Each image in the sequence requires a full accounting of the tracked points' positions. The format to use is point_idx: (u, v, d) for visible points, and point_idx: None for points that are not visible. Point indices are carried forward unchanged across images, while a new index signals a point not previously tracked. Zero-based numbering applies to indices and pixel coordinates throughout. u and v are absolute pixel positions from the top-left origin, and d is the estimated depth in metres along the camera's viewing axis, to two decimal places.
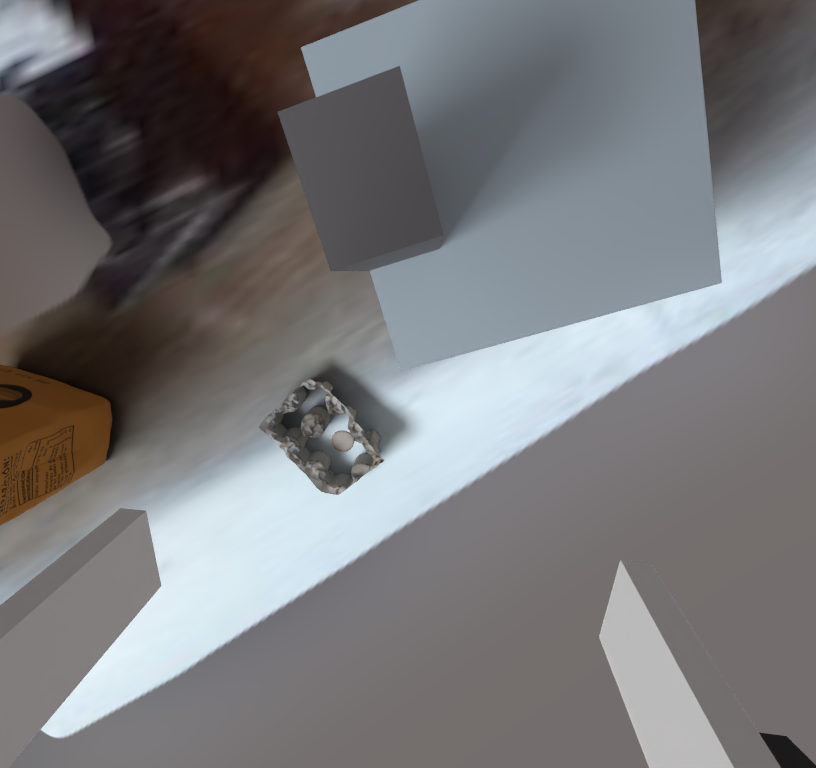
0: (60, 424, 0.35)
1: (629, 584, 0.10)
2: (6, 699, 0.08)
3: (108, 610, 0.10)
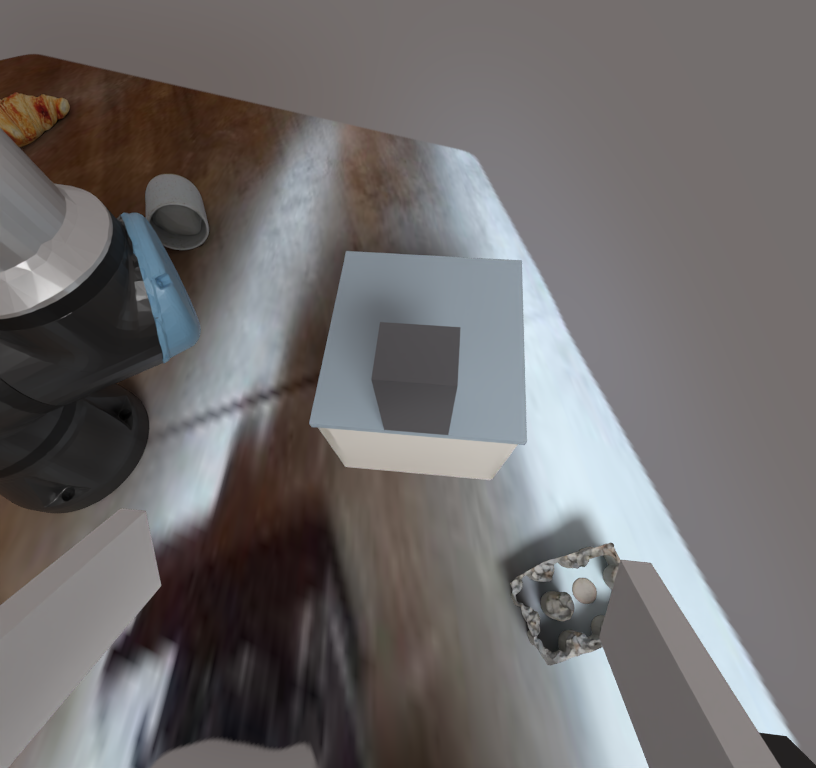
0: None
1: (629, 584, 0.10)
2: (6, 699, 0.08)
3: (108, 610, 0.10)
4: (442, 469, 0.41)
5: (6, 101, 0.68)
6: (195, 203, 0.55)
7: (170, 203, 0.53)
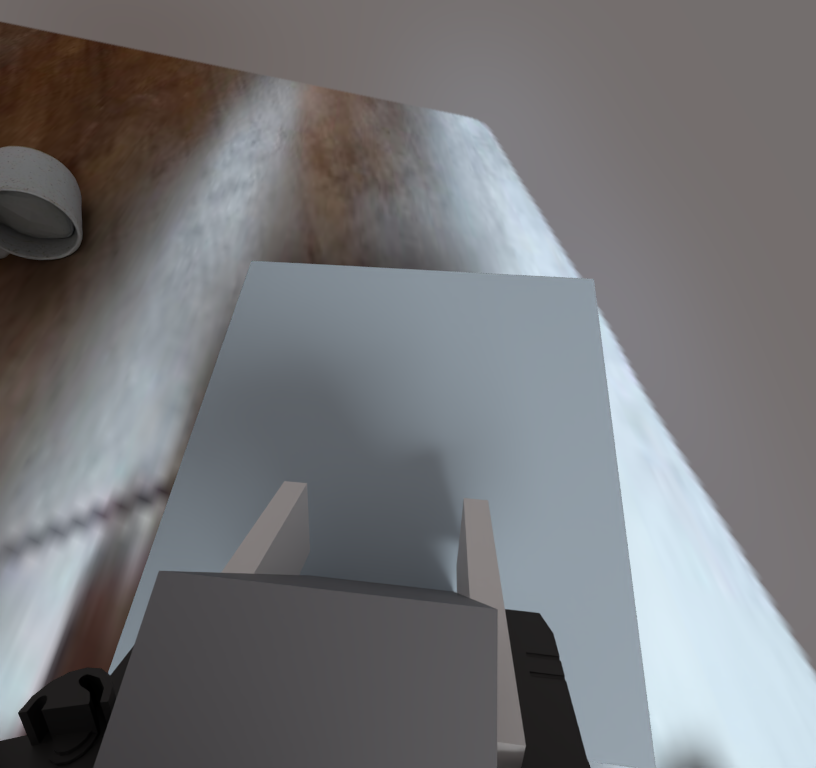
0: None
1: (463, 515, 0.12)
2: None
3: (289, 566, 0.12)
4: None
5: None
6: (52, 190, 0.36)
7: (1, 188, 0.34)
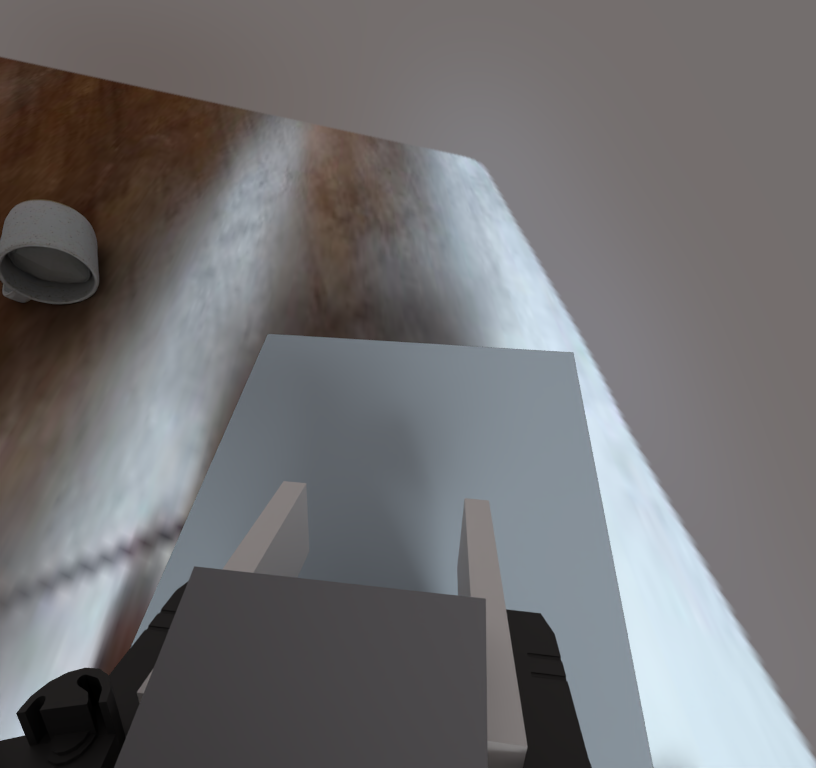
0: None
1: (464, 515, 0.12)
2: None
3: (288, 566, 0.12)
4: None
5: None
6: (71, 242, 0.39)
7: (26, 244, 0.36)
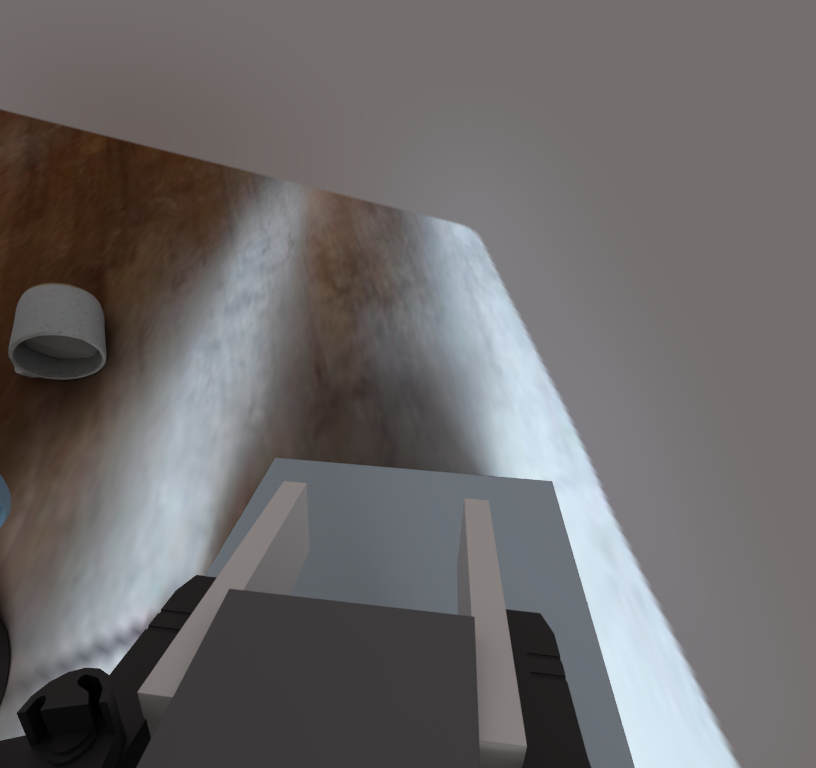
0: None
1: (464, 515, 0.12)
2: None
3: (289, 566, 0.12)
4: None
5: None
6: (80, 326, 0.41)
7: (38, 334, 0.38)
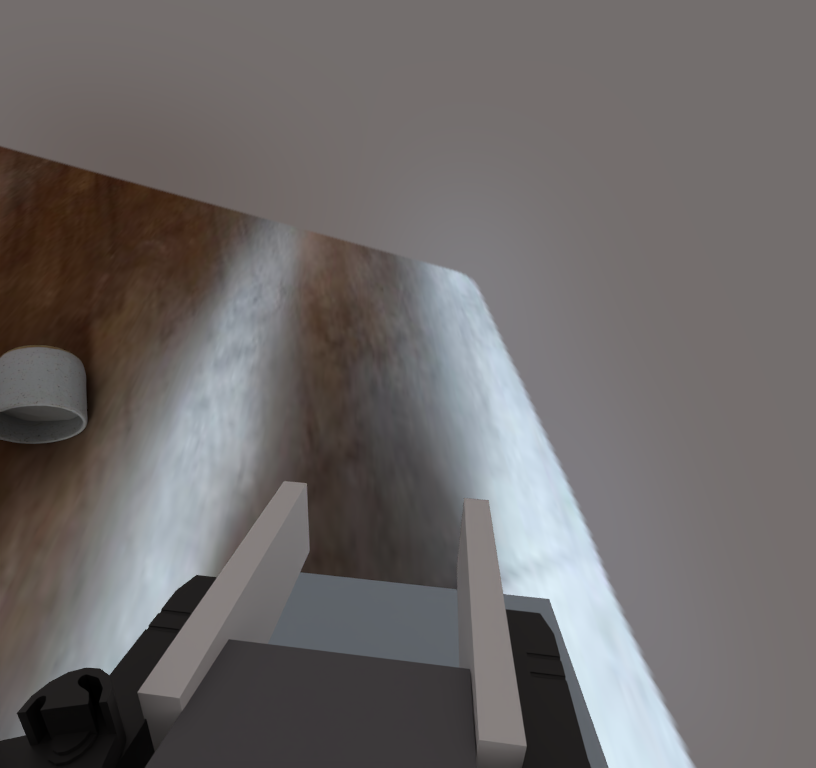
0: None
1: (464, 515, 0.12)
2: (250, 628, 0.09)
3: (289, 566, 0.12)
4: None
5: None
6: (59, 392, 0.39)
7: (13, 406, 0.37)
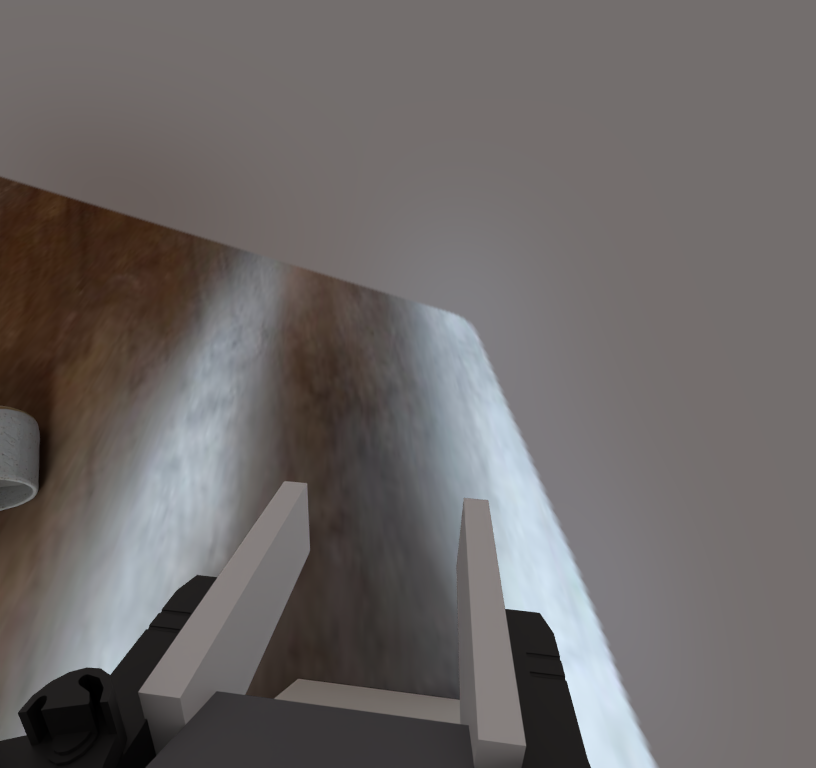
0: None
1: (464, 515, 0.12)
2: (251, 629, 0.09)
3: (289, 566, 0.12)
4: None
5: None
6: (3, 462, 0.35)
7: None
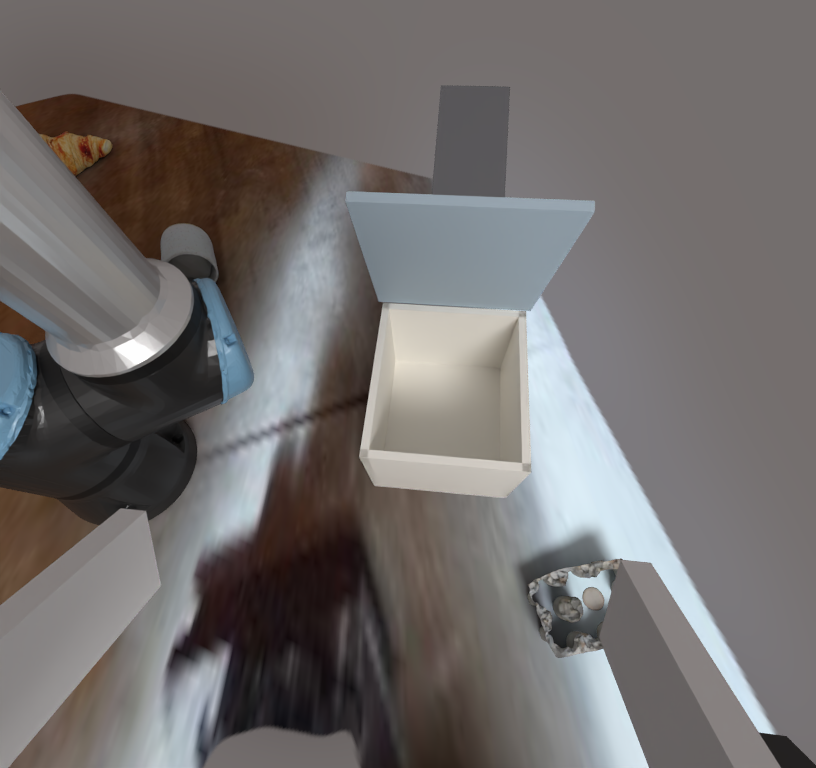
0: None
1: (628, 584, 0.10)
2: (6, 699, 0.08)
3: (108, 610, 0.10)
4: (462, 489, 0.47)
5: (55, 140, 0.74)
6: (206, 251, 0.60)
7: (184, 253, 0.58)
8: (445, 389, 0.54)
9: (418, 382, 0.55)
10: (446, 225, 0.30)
